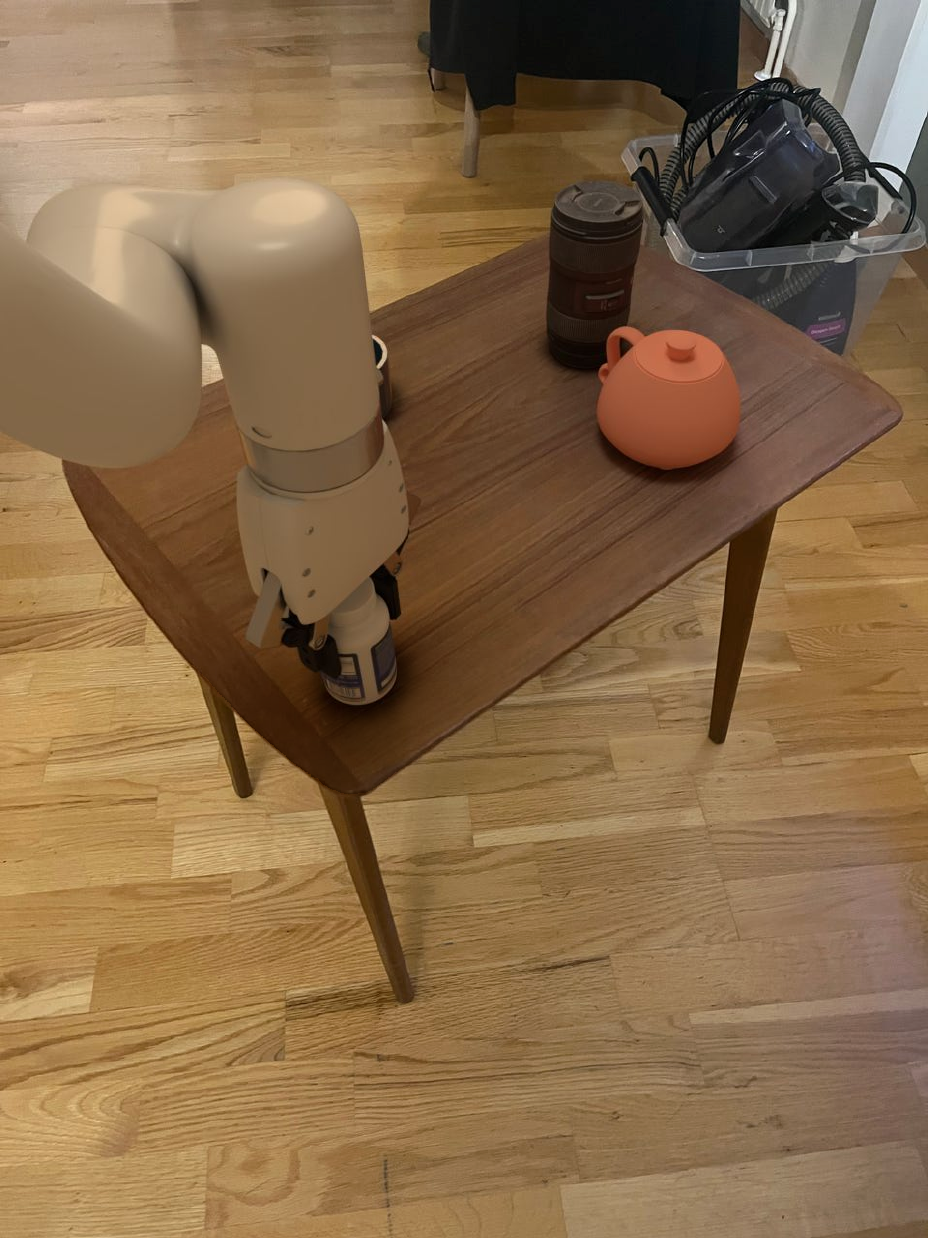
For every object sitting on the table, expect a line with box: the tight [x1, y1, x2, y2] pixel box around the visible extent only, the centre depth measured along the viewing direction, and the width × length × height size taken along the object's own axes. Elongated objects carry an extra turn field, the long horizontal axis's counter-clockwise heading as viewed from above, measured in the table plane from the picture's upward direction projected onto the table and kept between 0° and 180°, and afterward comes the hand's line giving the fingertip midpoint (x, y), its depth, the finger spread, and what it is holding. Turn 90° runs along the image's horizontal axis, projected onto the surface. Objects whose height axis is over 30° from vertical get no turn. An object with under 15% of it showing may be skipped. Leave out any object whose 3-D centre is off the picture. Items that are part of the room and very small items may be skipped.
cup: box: [372, 334, 394, 420], centre depth 83 cm, size 8×8×6 cm
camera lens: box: [545, 180, 645, 369], centre depth 84 cm, size 8×8×15 cm
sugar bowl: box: [596, 325, 742, 471], centre depth 78 cm, size 12×14×10 cm
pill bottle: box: [320, 577, 398, 706], centre depth 62 cm, size 5×5×10 cm
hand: (352, 635), depth 62 cm, fingers closed on pill bottle, 5 cm apart
